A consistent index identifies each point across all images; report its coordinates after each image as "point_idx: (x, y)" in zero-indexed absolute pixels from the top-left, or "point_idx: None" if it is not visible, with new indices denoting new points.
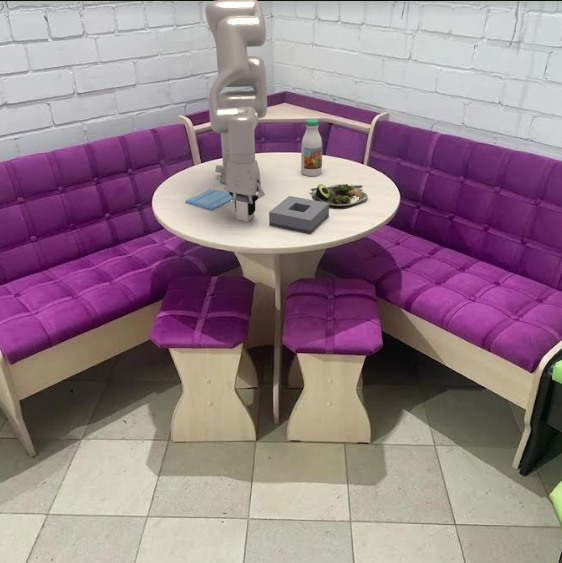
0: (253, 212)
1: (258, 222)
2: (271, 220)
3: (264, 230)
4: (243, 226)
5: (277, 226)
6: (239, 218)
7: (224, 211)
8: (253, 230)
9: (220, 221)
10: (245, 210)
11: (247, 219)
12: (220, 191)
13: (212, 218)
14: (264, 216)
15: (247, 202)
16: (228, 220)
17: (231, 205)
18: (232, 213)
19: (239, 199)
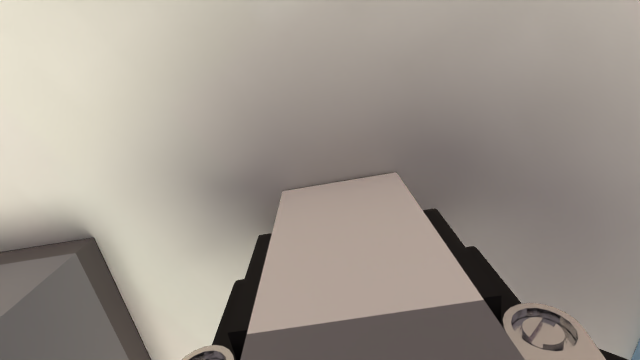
0: None
1: (205, 230)
2: (34, 270)
3: (38, 140)
4: (250, 93)
5: (14, 251)
6: (371, 181)
7: (589, 232)
8: (110, 80)
9: (518, 47)
10: (296, 243)
11: (285, 199)
12: None
13: (632, 54)
14: None
15: (251, 344)
16: (457, 113)
17: None
18: (503, 239)
19: (410, 339)
